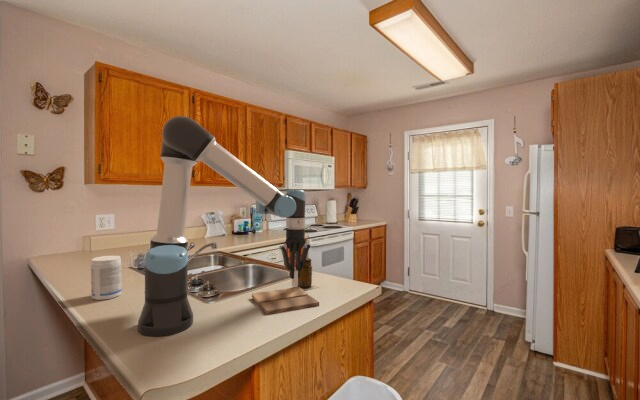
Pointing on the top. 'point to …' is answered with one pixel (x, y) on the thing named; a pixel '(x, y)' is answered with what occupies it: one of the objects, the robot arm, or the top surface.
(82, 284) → the top surface
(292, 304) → the floor board
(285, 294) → the board
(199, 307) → the top surface
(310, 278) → the condiment
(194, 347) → the top surface
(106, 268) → the supplement tub
